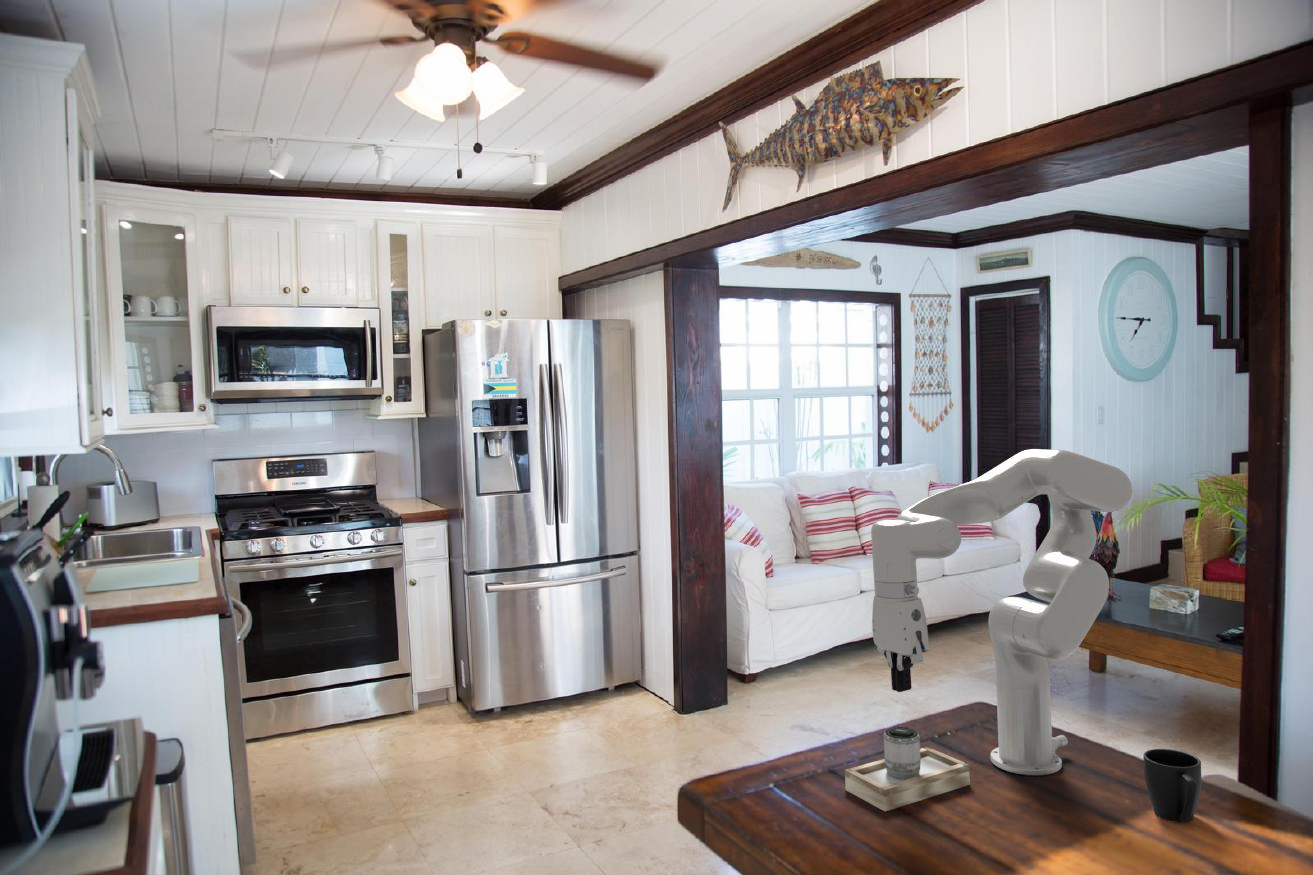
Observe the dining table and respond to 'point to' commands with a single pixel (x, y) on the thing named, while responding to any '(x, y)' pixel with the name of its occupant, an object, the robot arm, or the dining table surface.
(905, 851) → the dining table surface
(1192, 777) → the mug
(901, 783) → the beige rimmed shallow tray
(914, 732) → the camera lens
